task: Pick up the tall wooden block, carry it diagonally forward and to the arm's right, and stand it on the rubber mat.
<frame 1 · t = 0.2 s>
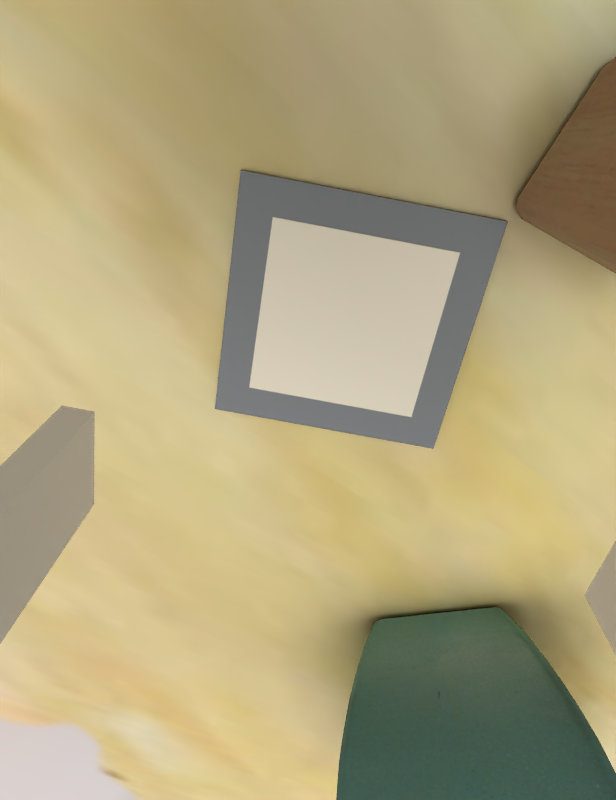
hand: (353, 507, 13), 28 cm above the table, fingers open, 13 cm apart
flower pot: (444, 653, 56), on the table
wooden block: (615, 174, 35), on the table
mat: (347, 321, 40), on the table
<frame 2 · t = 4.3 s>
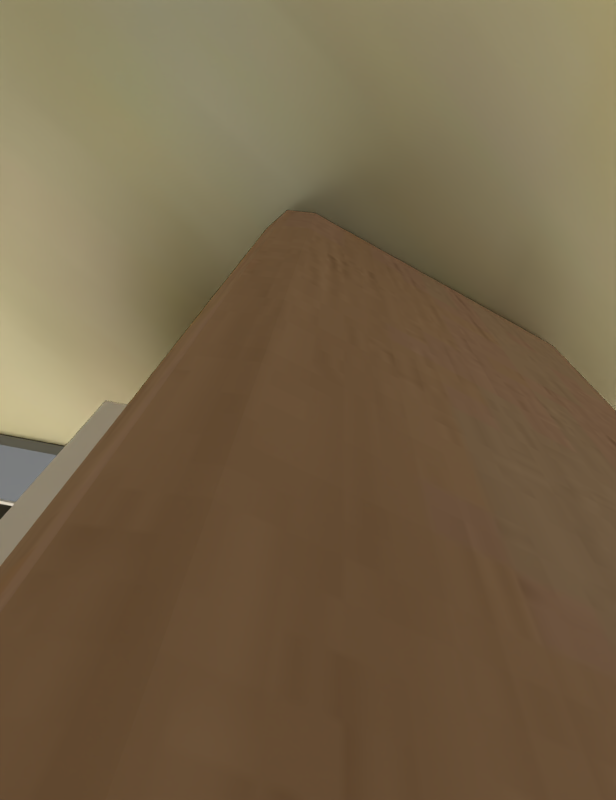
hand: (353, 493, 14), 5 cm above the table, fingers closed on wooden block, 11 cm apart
wooden block: (351, 399, 19), on the table, touching gripper
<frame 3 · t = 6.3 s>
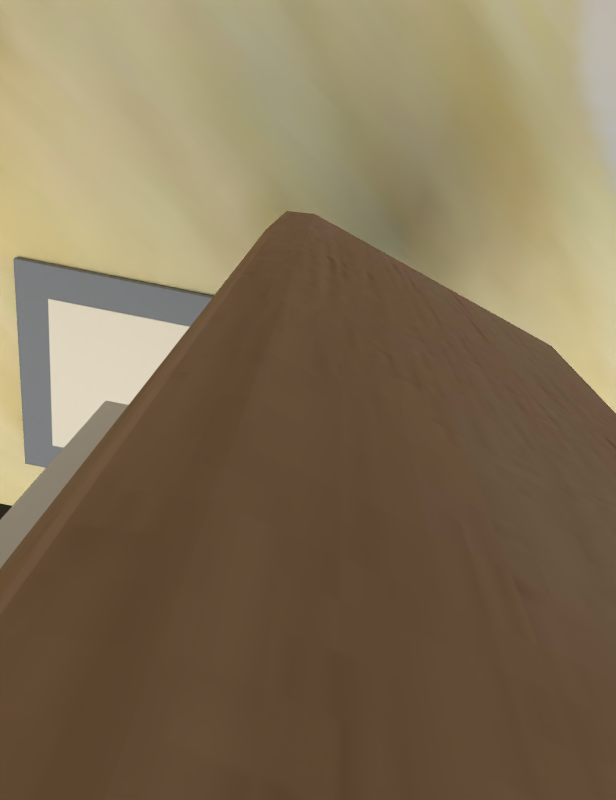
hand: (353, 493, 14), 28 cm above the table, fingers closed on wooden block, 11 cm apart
wooden block: (350, 400, 19), point 22 cm above the table, touching gripper
mat: (133, 388, 44), on the table
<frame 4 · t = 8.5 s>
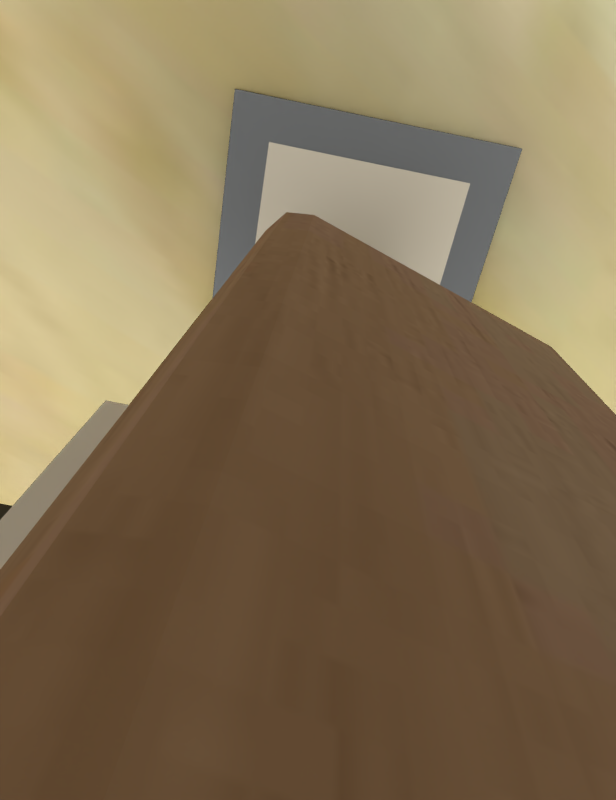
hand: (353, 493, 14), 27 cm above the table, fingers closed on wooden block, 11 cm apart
wooden block: (350, 401, 19), point 21 cm above the table, touching gripper
mat: (348, 262, 38), on the table
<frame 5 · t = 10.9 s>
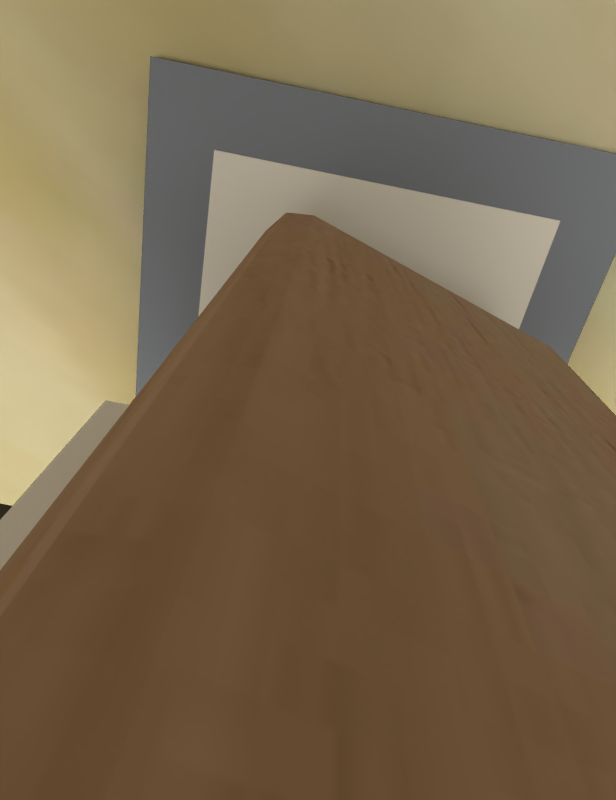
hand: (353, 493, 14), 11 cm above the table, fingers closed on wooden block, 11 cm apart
wooden block: (350, 401, 19), point 5 cm above the table, touching gripper
mat: (350, 342, 23), on the table
when the fingers open (7 cm above the table, at t = 13.0 s): wooden block stays where it is, resting on mat.
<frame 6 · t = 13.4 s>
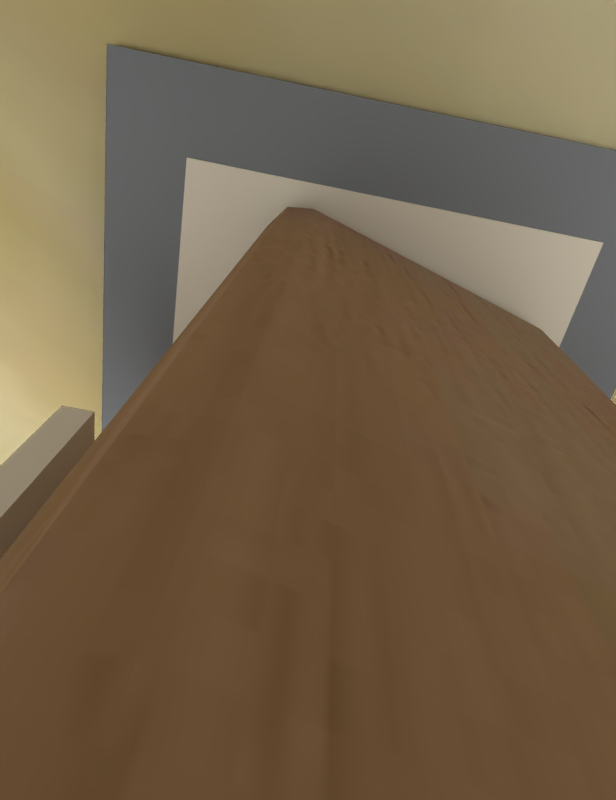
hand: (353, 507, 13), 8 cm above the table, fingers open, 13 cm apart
wooden block: (352, 386, 20), resting on mat
mat: (350, 381, 20), on the table
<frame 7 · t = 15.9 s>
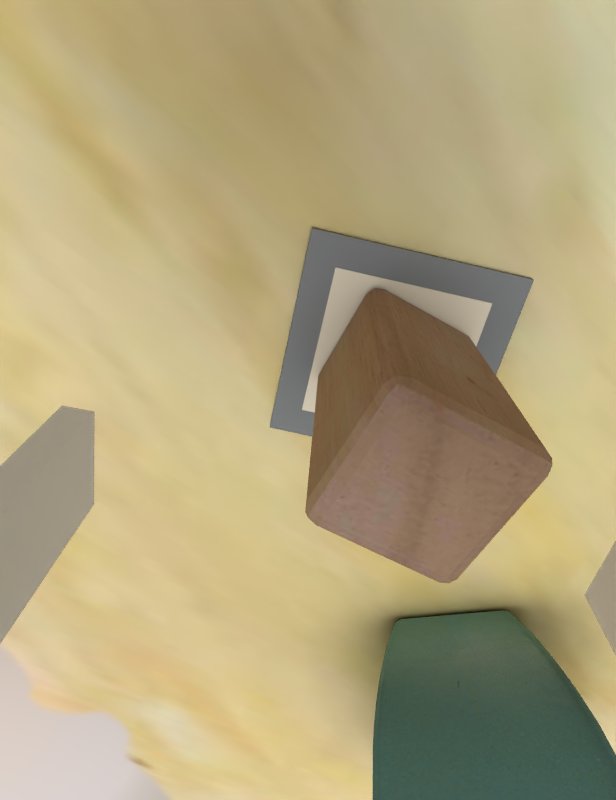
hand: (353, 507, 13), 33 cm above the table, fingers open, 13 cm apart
flower pot: (455, 652, 62), on the table
wooden block: (392, 358, 46), point 1 cm above the table, touching mat
mat: (391, 356, 47), on the table
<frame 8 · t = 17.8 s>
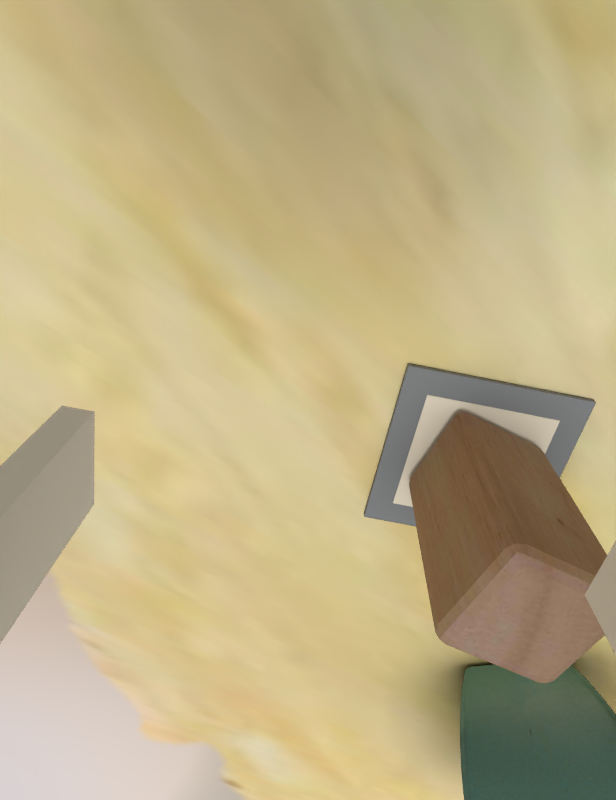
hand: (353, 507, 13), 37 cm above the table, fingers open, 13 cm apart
flower pot: (517, 692, 71), on the table
wooden block: (472, 462, 55), resting on mat
mat: (470, 460, 55), on the table
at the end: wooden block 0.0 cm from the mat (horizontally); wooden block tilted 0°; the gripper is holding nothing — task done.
